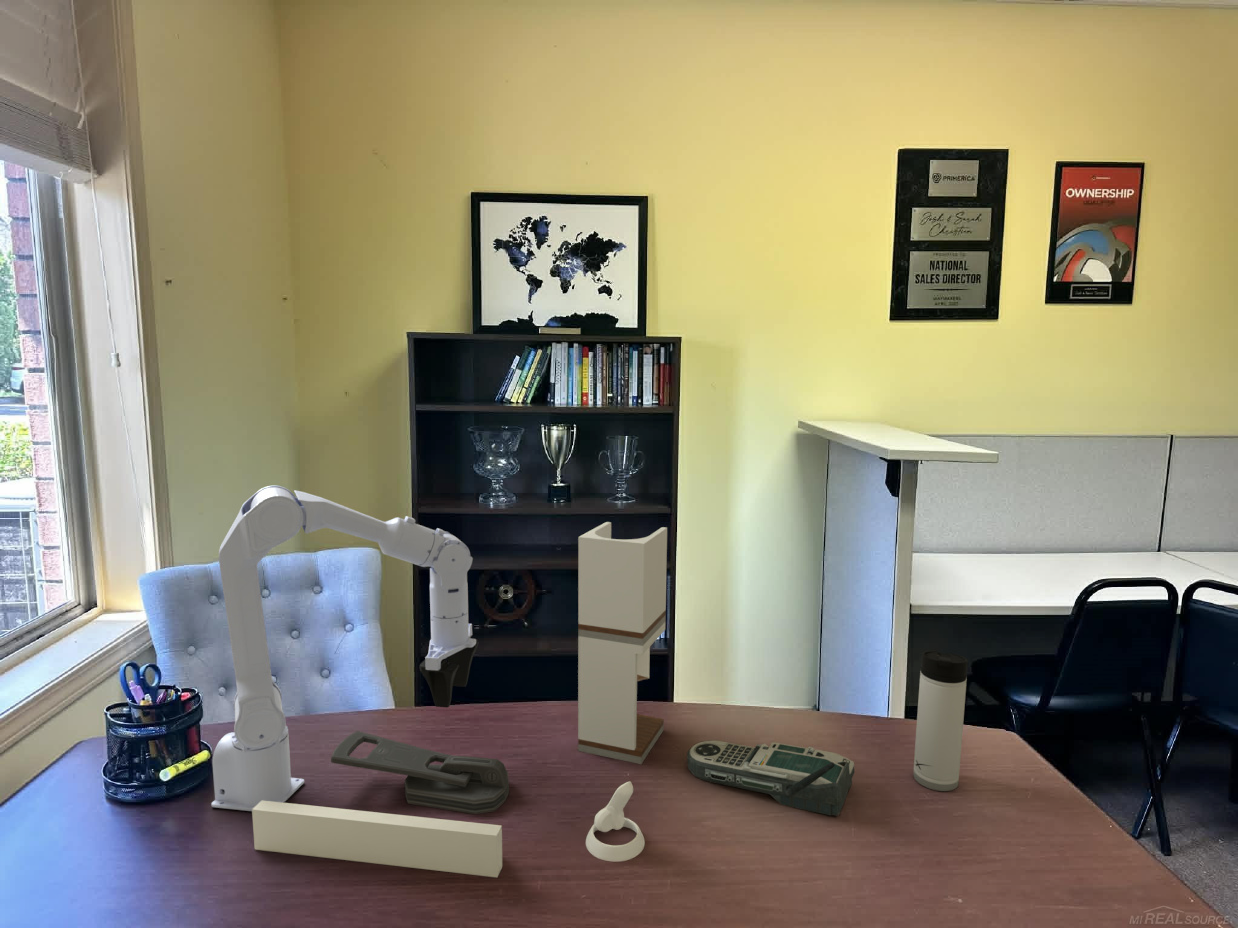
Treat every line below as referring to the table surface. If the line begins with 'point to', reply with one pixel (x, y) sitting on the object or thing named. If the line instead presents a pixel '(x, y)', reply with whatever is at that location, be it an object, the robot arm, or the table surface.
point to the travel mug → (940, 720)
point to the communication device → (777, 772)
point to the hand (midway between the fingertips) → (451, 695)
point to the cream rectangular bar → (378, 838)
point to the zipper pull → (433, 774)
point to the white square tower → (618, 639)
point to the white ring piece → (615, 820)
